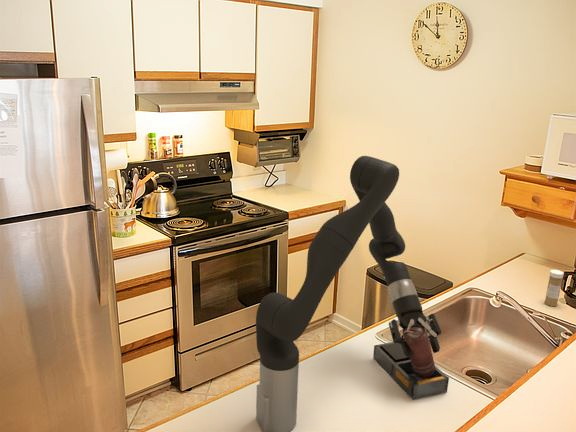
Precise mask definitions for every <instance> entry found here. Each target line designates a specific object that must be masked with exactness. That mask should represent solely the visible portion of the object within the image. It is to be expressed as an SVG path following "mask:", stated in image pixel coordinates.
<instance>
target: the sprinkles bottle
mask: <svg viewBox="0 0 576 432" xmlns="http://www.w3.org/2000/svg"><path fill="white" fill-rule="evenodd" d="M563 278H564V272H563V271H562V270H559V269H550V271H549V277H548V279H549V280H548V283H547V284H548V285H547V288H546V292H545V299H544V304H545V305H547V306H550V307H557V306H558V302H559V298H560V297H559V296H560V292H561V287H562V283H563V282H562V281H563Z"/></svg>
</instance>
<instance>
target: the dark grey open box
mask: <svg viewBox="0 0 576 432" xmlns="http://www.w3.org/2000/svg"><path fill="white" fill-rule="evenodd" d="M372 359H373V360H374V361H375V362H376V363H377V364H378V365H379V366H380V368H382V370H383V371H384V372H385V373H386V374H387V375H388V377H390V378H391V379H392V380H393V381H394V382H395V383H396V384H397V386H399V388H401V389H402V391H404V393H405V394H406V395H407V396H408V397H409V398H410V399H411V400H412V401H414V400H420V399H423V398H429V397H432V396H436V395H440V394H441V395H442V394H445V393H448V387H449V381H450V377H449V376H448V375H447V374H446V373H444V372H443V371H442V370H441V369H439V368H438V367H437V366H436V365H435V372H434V373H433V375H431V376H430V377H427V378H421V377H418V376H417V375H415V373H414V372H413V368H412V364H411V360H410V357H409V358H407V356H405V354H404V352H403V349H402V346H401V344H400V343H394V342H393V341H391V342H385V343H380V344H374V345H373V357H372Z"/></svg>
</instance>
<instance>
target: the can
mask: <svg viewBox="0 0 576 432" xmlns="http://www.w3.org/2000/svg"><path fill="white" fill-rule="evenodd" d="M410 327H411V328H410V329H409V330H408V331H407V329H406V330H405V331H404V332H403V335H404V337H405V340H406V343H407V345H408V346H409V348H410V349H411V351H412V354H413V356H412V357H410V360H411V364H412V368H413V372H414V373H415V375H417V376H418V377H421V378H427V377H430V376H431V375H433V373H434V372H435V366H436V364H435V361H434V355H433V350H432V347H431V344H430V341H429V340H430V339H429V338H428V334H427V331H426V330H425V328H424V327H422V326H420V325H413V326H410ZM408 328H409V327H408ZM410 330H411V331H410Z"/></svg>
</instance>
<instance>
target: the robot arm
mask: <svg viewBox="0 0 576 432" xmlns="http://www.w3.org/2000/svg"><path fill="white" fill-rule="evenodd" d="M399 179H400V169H399V167H398V166H397V165H396V164H394V163H391V162H388V161H386V160H383V159H379V158H376V157H374V156H368V155H361V156H359V157H358V158H356V159H355V161H354V162H353V164H352V165H351V169H350V174H349V181H350V184H351V188H352V189H353V191H354V193H355V195H356V196H357V199H358V201H359V202H357V203H356V204H354V205H353V206H351V207H349V208H347V209H346V210H343V211H342V212H340V213H338V214H336V215H335V216H333V217H331V218H329V219H327V220H326V221H325V222H324V223H323V224H322V226H320V228H319V230H318V231H317V232H316V235H315V236H314V237H313V239H312V240H311V242H310V244H309V246H308V251H307V257H306V258H307V259H306V271H305V273H306V275H305V279H304V281H303V283H302V286H301V288H300V289H299V291H298V292H297V293H296V296H295V297H294V298H293V299H292V298H291V297H289V296H286V295H284V294H283V293H279V292H269V293H268V294H267V295H265V296H264V297H263V298H262V299H261V301H260V302H259V305H258V306H257V310H256V315H255V330H256V332H255V337H256V348H257V352H258V354H259V382H258V383H259V384H257V385H256V402H255V403H256V405H255V406H256V408H255V410H256V412H255V413H256V414H255V418H256V421H257V422H258V425H259V427H260V429H261V431H262V432H291V431H293V430H294V429H295V427H296V424H297V415H298V388H299V368H300V367H299V366H300V364H299V363H300V350H299V348H298V346H297V344H295V342H296V341H297V340H299V338H300V337H301V336H302V335H303V334H304V332H305V331H306V330H307V328H308V326H309V325H310V323H311V321H312V318H313V316H314V314H315V312H316V311H317V309H318V307H319V305H320V304H321V302H322V299H323V297H324V295H325V293H326V292H327V290H328V288H329V287H330V285H331V283H332V282H333V280H334V278H335V277H336V275H337V274H338V272H339V270H340V269H341V267H342V266H343V264H344V263H345V262H346V260H347V259H348V257H349V256H350V254H351V253H352V251H353V249H354V247H355V246H356V245H357V242H358V241H359V238H361V236H362V235H363V233H364V231H365V230H366V228H367V227H368V226H369V227H370V232H371V236H372V237H373V238H372V239H370V241H369V243H368V251H369V253H370V255H371V256H372V257H373V259H374V260H375V262H376V263H377V265H378V266H379V268H380V270H381V272H382V274H383V276H384V279H385V283H386V286H387V288H388V293H389V296H390V297H389V298H390V301H391V304H392V307H393V311H394V313H395V316H396V317H397V320H396V319H392V320H391V321H389V322H388V327H389V330H390V334H391V337H392V342H394V343H400V344H401V346H402V349H403V352H404V354H405V356H407V358H409V357H412V356H413V354H412V351H411V349H410V348H409V346H408V345H407V343H406V340H405V337H404V335H403V332H404V331H405V330H406V329H407V331H408V330H409V329H410V328H411V327H410V326H413V325H420V326H422V327H424V329H425V330H426V331H427V334H428V339H429V343H430V347H431V351H432V353H433V354H436V353H440V349H441V346H440V343H439V340H438V336H439V335H441V334H442V329H441V328H440V325H439V323H438V320H437V318H436V316H435V314H434V313H431V314H429V315H425V314H424V312H423V307H422V306H423V305H422V304H421V301H420V298H419V295H418V293H417V290H416V286H415V285H414V282H413V281H412V278H411V276H410V272H409V270H408V267H407V265H406V263H405V262H403V261H388V260H389V259H391V258H393V257H398V256H401V255H403V253H404V252H405V251H406V243H405V240H404V238H403V236H402V234H400V232H399V231H398V229H397V226H396V222H395V217H394V214H393V212H392V210H391V208H390V207H389V205H388V204H387V203H386V201H387V200H388V199H389V198H390V196H391V195H392V193H393V192H394V190H395V188H396V186H397V184H398V182H399ZM387 259H388V260H387ZM399 327H400V328H402V331H401V333H400V330H399ZM408 327H409V328H408ZM410 331H411V330H410Z"/></svg>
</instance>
